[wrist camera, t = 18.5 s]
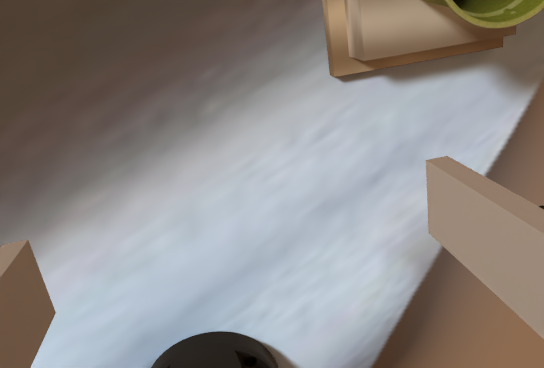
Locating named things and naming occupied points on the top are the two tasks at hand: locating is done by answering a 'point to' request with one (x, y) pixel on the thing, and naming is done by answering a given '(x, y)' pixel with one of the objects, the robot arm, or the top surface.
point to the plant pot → (493, 11)
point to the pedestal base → (362, 66)
